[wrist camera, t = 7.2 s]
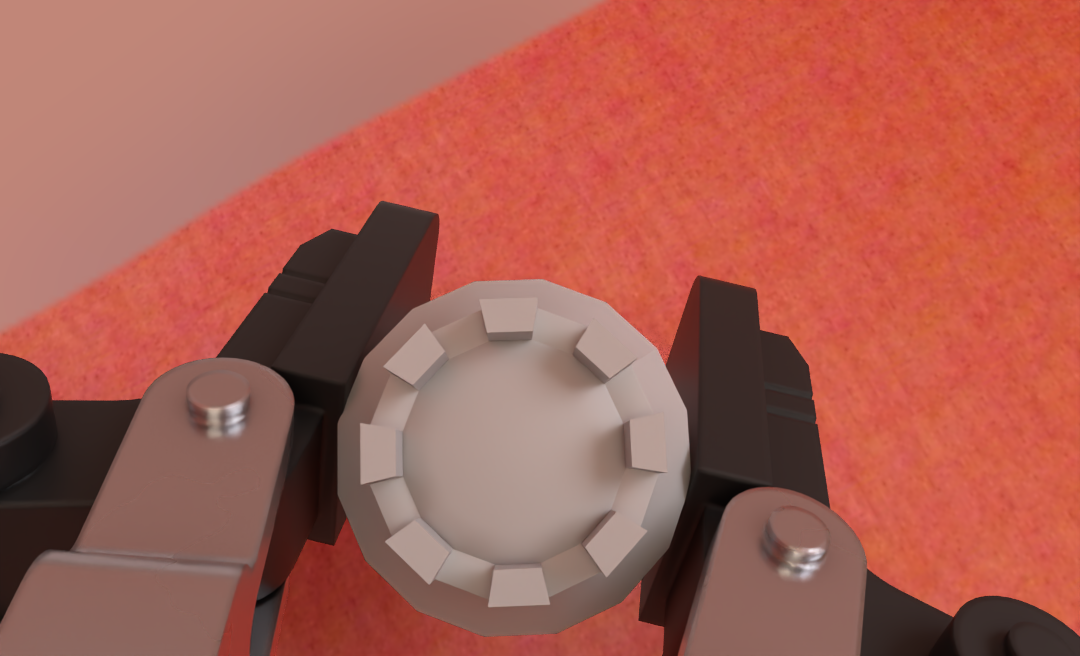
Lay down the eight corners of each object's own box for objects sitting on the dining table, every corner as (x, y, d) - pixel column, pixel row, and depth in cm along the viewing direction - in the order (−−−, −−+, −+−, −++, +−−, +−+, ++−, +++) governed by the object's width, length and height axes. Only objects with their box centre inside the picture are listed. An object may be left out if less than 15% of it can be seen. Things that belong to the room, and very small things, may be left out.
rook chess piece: (546, 284, 16) (572, 86, 8) (702, 496, 15) (899, 509, 7) (331, 436, 15) (130, 385, 7) (484, 662, 15) (445, 865, 7)
